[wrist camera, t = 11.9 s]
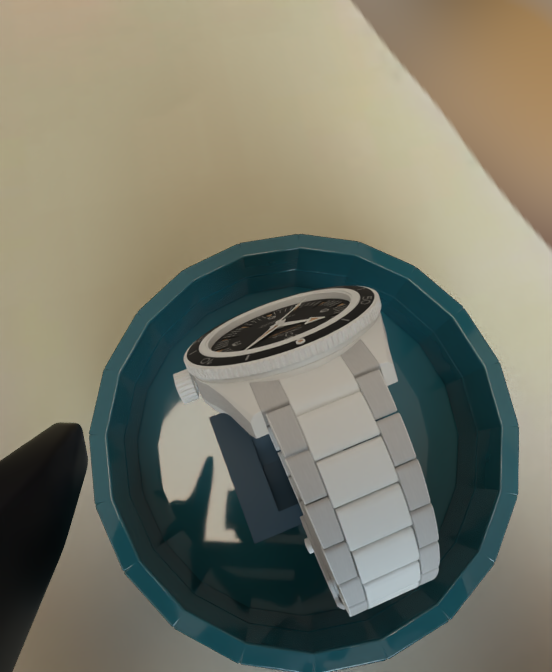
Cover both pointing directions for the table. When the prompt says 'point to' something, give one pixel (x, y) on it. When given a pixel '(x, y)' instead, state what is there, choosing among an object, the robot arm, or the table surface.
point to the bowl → (289, 547)
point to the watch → (320, 438)
